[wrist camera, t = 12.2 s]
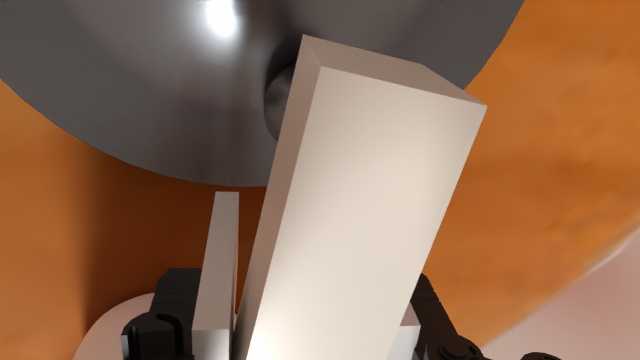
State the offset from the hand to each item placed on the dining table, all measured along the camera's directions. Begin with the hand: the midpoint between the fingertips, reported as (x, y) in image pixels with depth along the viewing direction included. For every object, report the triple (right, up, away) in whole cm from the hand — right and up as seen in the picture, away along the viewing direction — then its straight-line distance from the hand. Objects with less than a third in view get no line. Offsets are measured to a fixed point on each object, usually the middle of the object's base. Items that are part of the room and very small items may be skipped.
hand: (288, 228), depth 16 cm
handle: (0, +3, 0) cm, 3 cm away
